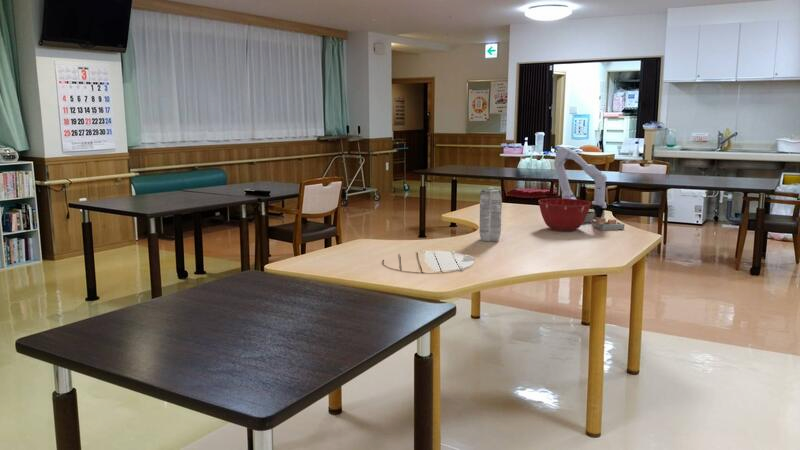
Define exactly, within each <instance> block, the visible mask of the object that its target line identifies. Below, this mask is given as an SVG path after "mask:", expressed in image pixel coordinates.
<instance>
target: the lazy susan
mask: <svg viewBox="0 0 800 450" xmlns="http://www.w3.org/2000/svg"><path fill="white" fill-rule="evenodd" d="M425 251H426V252H425V254H424V255H425V258H424V259H425V260H424V262H426V264H427V265H428V267H431V269H434V270H436V271H438V272H439V271H441V270H442V271H456V270H461V271H465V270H468V269H470V268H471V266H472V267H473V266H474V264H475V261H476V259H475V258H474V257H473V256H472V255H470V254H463V253H457V252H455V250H452V251H451V252H450V251H445V250H444V251H443V250H425ZM434 253H435V255H434ZM435 256H436V257H435ZM436 258H437V260H436ZM455 260H456V261H455ZM437 261H438V262H437ZM456 262H457V263H456ZM438 263H439V265H438ZM457 264H458V265H457ZM439 266H440V267H439ZM458 266H459V267H458ZM440 268H441V270H440ZM459 268H460V269H459ZM467 268H468V269H467ZM464 269H465V270H464ZM434 270H433V271H434ZM456 272H457V271H456Z"/></svg>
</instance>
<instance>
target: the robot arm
mask: <svg viewBox="0 0 800 450" xmlns="http://www.w3.org/2000/svg"><path fill="white" fill-rule="evenodd" d="M567 160H573V161H574V162H575V163H576V164H578V165H579V166H580V167H581V168H583V169H584V173H585V174H586V175H587V176H589V178H591V179H592V180H593V182H594V183H595V184H594V197H593V200H592V201H591V205H592V209H594V211H595V215H596V217H601V216H602V213H603V211H605V210H606V209H607V202H606V182H607V180H608V177H607V176H606V174H605V173H602V170H599V169H598V168H597V167H596V165H594V164H588V162H586V161H585V160H584V159H583V157H581V155H579V154H578V152H576V151H575V150H574V149H572V148H571V147H570V146H565V147H560V148H558V150H557V151H556V152H555V157H554V162H553V166H554V169H555V173H556V177H557V179H558V183H559V187H560V190H561V199H576V200H578V199H577V197H576V196H575V195H574V192H573V191H572V189H571V185H570V183H569V182H570V181H569V179H568V175H567V171H566V168H565V165H564V164H565V163H566V161H567Z"/></svg>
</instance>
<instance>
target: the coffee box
mask: <svg viewBox="0 0 800 450" xmlns="http://www.w3.org/2000/svg"><path fill="white" fill-rule="evenodd" d="M605 214H606V213H605V210H604V211H603V213H602V216H601V217H604V218H605ZM592 220H596V215H595V211H594V208H592V209H591V208H589V211H588V214H587V216H586V218H585V220H584V222H583V223H582V224H584V223H592Z"/></svg>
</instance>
